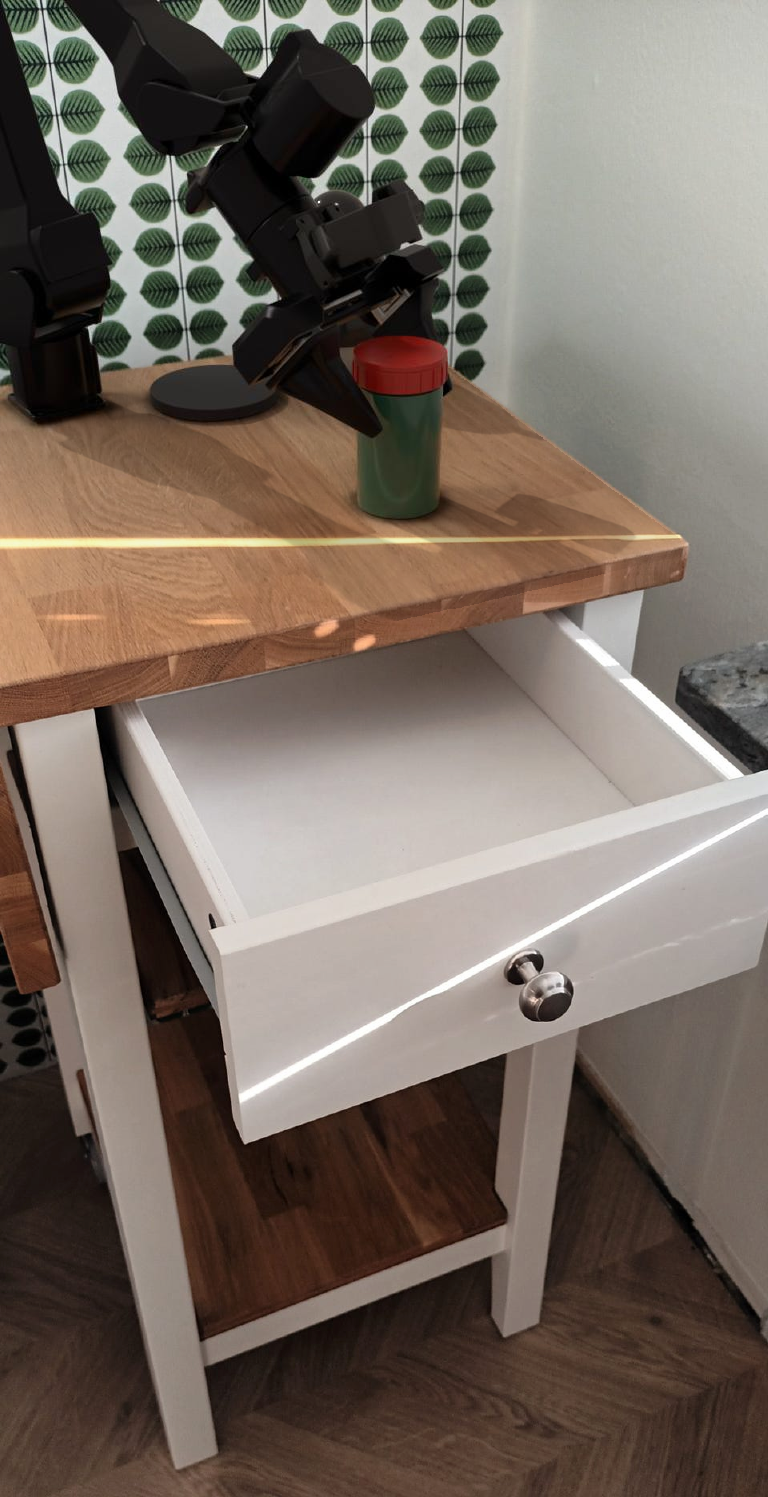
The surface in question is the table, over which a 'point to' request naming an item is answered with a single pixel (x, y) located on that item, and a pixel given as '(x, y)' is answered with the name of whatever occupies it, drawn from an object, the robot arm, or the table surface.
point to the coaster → (209, 394)
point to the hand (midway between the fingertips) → (414, 413)
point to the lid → (400, 365)
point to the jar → (401, 455)
